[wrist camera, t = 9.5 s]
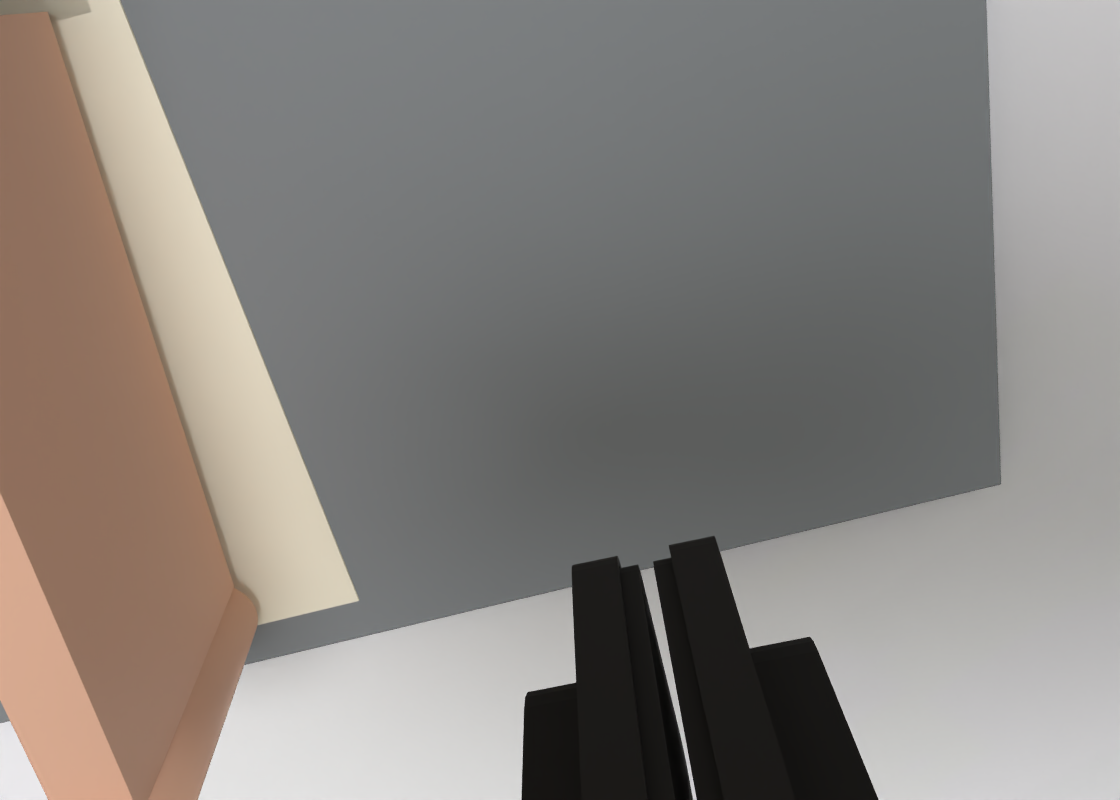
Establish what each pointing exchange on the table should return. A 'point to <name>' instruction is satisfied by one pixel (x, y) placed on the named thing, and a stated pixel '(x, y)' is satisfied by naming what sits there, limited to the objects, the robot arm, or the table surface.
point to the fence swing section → (95, 481)
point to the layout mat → (545, 278)
